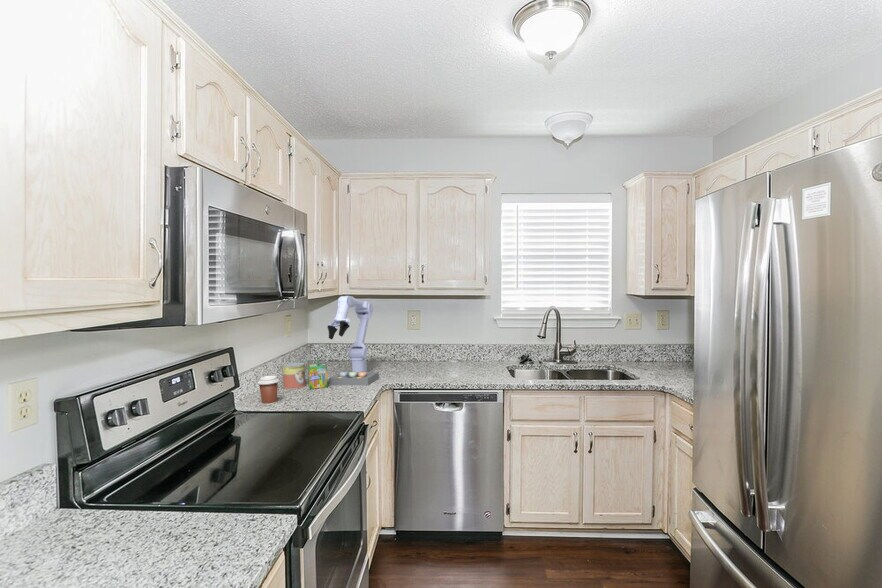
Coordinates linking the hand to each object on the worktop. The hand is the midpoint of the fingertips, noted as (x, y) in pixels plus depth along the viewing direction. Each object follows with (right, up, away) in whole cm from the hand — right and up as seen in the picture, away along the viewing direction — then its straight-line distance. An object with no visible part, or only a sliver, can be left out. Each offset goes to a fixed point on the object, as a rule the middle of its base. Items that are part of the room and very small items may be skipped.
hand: (335, 337), depth 230 cm
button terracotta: (+13, -23, +6) cm, 27 cm away
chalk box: (-9, -26, 0) cm, 28 cm away
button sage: (+8, -23, +7) cm, 25 cm away
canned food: (-22, -27, +2) cm, 35 cm away
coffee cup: (-23, -28, -30) cm, 47 cm away
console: (+8, -25, +9) cm, 28 cm away
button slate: (+2, -23, +9) cm, 25 cm away
